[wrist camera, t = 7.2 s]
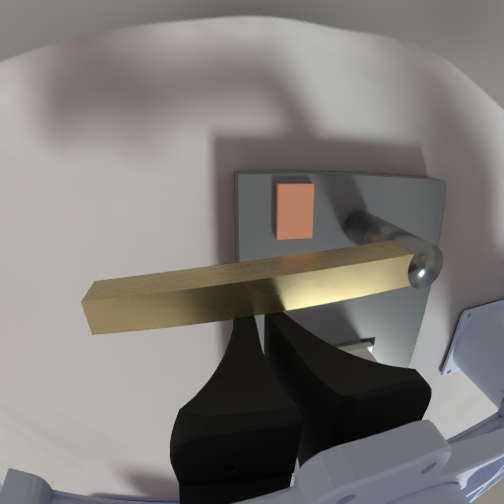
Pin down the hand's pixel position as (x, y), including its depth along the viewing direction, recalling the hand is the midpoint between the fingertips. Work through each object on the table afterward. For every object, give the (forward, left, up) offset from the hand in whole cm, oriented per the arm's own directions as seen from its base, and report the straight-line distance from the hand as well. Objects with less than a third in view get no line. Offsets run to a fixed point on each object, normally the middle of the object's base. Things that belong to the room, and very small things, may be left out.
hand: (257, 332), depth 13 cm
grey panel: (-7, +5, -8) cm, 12 cm away
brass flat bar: (-1, -2, -6) cm, 6 cm away
